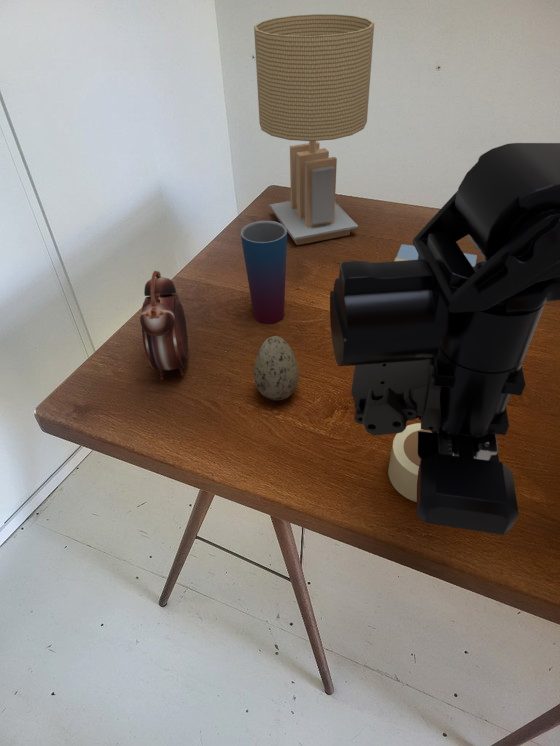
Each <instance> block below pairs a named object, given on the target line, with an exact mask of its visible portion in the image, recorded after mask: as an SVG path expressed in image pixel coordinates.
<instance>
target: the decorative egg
mask: <svg viewBox="0 0 560 746" xmlns="http://www.w3.org/2000/svg"><path fill="white" fill-rule="evenodd" d="M255 357H256V358H255V362H254V367H253V368H254V369H253V378H254V383H255V386H256V388H257V390H258V391H259V393H260V394H261V395H262V396H263V397H264V398H266V399H267V400H271V401H283V400H286V399H288V398H289V397H291V395H293V393H295V390H296V389H297V387H298V383H299V379H300V374H299V371H300V370H299V365H298V361H297V358H296V356H295V353H294V351H293V349H292V348H291V346H290V345H289V344H288V342H287V341H286V340H285V339H283V338H282V337H281V336H278V335H272V336H270V337H267V339H265V341H263V343H262V344H261V345H260V347H259V349H258V351H257V354H256V356H255Z"/></svg>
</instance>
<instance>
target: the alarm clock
mask: <svg viewBox="0 0 560 746" xmlns="http://www.w3.org/2000/svg"><path fill="white" fill-rule="evenodd" d="M177 293H178V291H177V287H176V284H175V283H174V281H173V280H172V279H171V278H169V277H165V276H163V277H162V275H161V272H160V271H159V270H158V271H157V270H153V272H152V275H151V279H149V280H148V281H146V283H145V284H144V292H143V294H144V295H143V296H144V297H145V298H144V300H143V303H142V306H141V312H140V316H139V322H140V326H141V335H142V342H143V348H144V352H145V356H146V360H147V362H148V364H149V365H150V367H151V368H152V370H154V371H158V372H159V376H160V380H161V381H163V380H164V379H165V376H164V371H174V370H179V372H180V376H184V372H183V369H184V368H185V367H186V364H187V357H188V352H189V351H188V350H189V349H188V348H189V344H188V330H187V321H186V316H185V310H184V307H183V305H182V303H181V300H180V297H179V295H178V294H177Z"/></svg>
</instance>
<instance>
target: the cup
mask: <svg viewBox="0 0 560 746" xmlns="http://www.w3.org/2000/svg"><path fill="white" fill-rule="evenodd" d="M240 238H241V239H240V240H241V244H242V252H243V258H244V263H245V270H246V277H247V282H248V283H247V284H248V288H249V289H248V290H249V294H250V301H251V307H252V314H253V317H254V320H255V321H257V322H259V323H261V324H266V325H270V324H275V323H278V322H280V321H282V320H283V319H284V317H285V298H286V274H287V273H286V271H287V246H288V232H287V228H286V227H285V226H284V225H283V224H281V222H278V221H274V220H258V221H253V222H250V223H248V224H246V225H244V226H243V227H242V228H241V229H240Z"/></svg>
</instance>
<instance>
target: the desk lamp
mask: <svg viewBox="0 0 560 746" xmlns="http://www.w3.org/2000/svg"><path fill="white" fill-rule="evenodd" d="M253 31H254V32H253V33H254V49H255V50H254V51H255V67H256V68H255V69H256V84H257V102H258V105H257V106H258V119H259V126H260V130H261V131H262V132H264V133H266V134H268V135H269V136H271V137H275V138H279V139H283V140H287V141H299V142H308V143H301V144H294V145H289V173H290V174H289V176H290V179H289V181H290V200H287V201H281V202H276V203H270V204H269V208H270V209H271V211H272V212H273V213H274V215H275V216H276V218H277V220H278V221H279V223H281V224H283V225H284V226H285V227H286V228H287V234H288V235H289V236H290V238H291V239H292V240H293V241H294V244H296V246H301V245H304V244H305V245H306V244H311V243H316V242H320V241H326V240H331V239H336V238H342V237H345V236H350V235H351V230H354V229H355V230H356V229H358V228H359V225H358V224H357V223H356V222H355V221H354V220H353V219H352V217H350V216H349V215H348V214H347V212H345V211H344V209H343V208H342V207H341V206H340V205H339V204H338V203H337V202H336V189H337V187H336V186H337V164H338V163H337V161H338V159H337V157H336V156H330V152H329V150H328V149H327V148H325V147H323V148H320V141H332V140H338V139H341V138H345V137H346V138H347V137H350V136H353V135H355V134H357V133H359V132H361V131H363V130H364V129H365V127H366V125H367V122H368V114H369V113H368V112H369V99H370V85H371V72H372V60H373V59H372V58H373V46H374V32H375V22H374V21H372V19H369V18H367V17H362V16H357V15H349V14H333V13H331V14H327V13H326V14H325V13H324V14H323V13H321V14H320V13H319V14H318V13H315V14H296V15H288V16H281V17H280V16H279V17H275V18H270V19H267V20H262V21H259V22H258V23H256V24H255V25H254V26H253Z"/></svg>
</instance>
